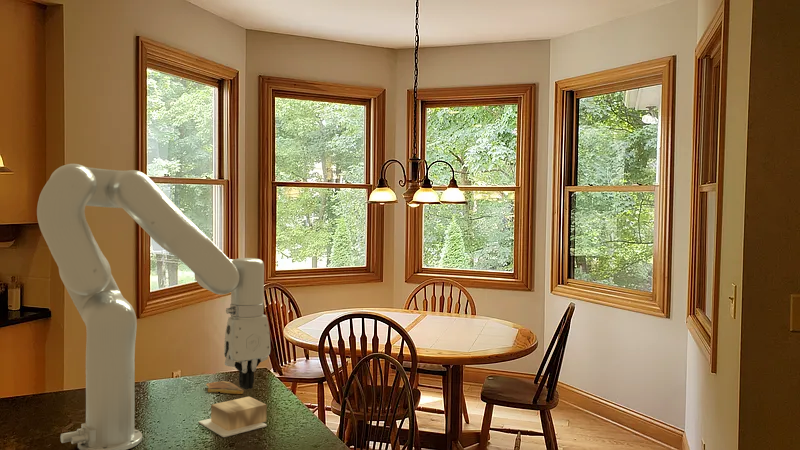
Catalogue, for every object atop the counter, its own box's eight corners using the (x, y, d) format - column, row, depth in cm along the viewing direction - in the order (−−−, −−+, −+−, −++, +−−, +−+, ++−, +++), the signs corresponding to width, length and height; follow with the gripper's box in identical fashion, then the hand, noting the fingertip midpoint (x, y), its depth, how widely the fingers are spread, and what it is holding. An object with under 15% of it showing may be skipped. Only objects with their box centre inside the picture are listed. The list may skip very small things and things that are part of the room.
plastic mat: (223, 437, 145) (223, 435, 145) (198, 422, 153) (198, 421, 153) (266, 426, 152) (266, 424, 152) (240, 412, 161) (240, 411, 161)
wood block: (266, 421, 154) (227, 430, 147) (249, 412, 160) (211, 421, 153) (266, 404, 154) (227, 413, 147) (249, 396, 160) (211, 404, 153)
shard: (244, 395, 176) (244, 389, 176) (216, 400, 172) (216, 393, 171) (229, 385, 185) (229, 379, 185) (202, 390, 180) (202, 383, 180)
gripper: (225, 316, 146) (225, 397, 147) (283, 309, 156) (282, 385, 157) (210, 311, 152) (209, 389, 152) (266, 305, 162) (265, 378, 163)
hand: (246, 387), depth 155 cm, fingers closed
